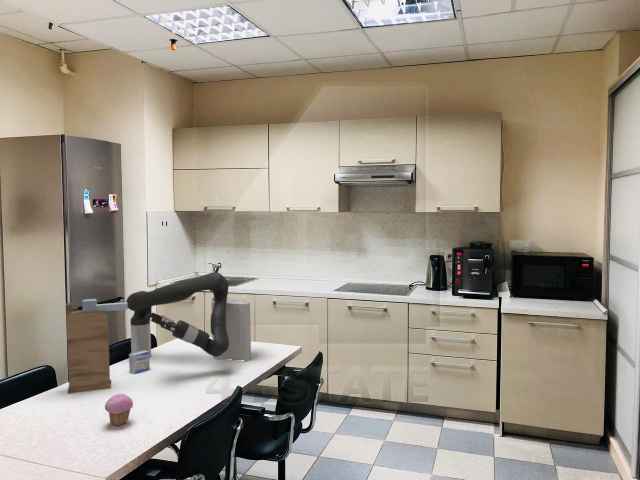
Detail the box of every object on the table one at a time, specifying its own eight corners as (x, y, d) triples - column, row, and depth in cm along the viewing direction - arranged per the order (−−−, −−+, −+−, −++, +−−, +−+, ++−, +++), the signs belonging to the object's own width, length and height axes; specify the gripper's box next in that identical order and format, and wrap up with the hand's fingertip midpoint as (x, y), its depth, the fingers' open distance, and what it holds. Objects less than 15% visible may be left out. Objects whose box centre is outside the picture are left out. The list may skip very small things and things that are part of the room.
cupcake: (125, 416, 178) (124, 388, 178) (138, 422, 173) (137, 394, 172) (100, 424, 171) (99, 395, 171) (113, 431, 166) (112, 401, 165)
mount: (69, 387, 208) (66, 302, 205) (111, 382, 213) (108, 299, 211) (67, 393, 201) (64, 305, 199) (110, 388, 207) (107, 302, 204)
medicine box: (134, 374, 224) (134, 355, 224) (129, 372, 227) (128, 353, 227) (150, 369, 231) (149, 351, 230) (144, 367, 233) (143, 349, 233)
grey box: (260, 353, 255) (259, 299, 254) (247, 361, 241) (246, 304, 240) (226, 350, 261) (225, 297, 260) (212, 358, 247) (210, 302, 245)
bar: (83, 311, 207) (83, 299, 207) (127, 307, 213) (127, 296, 212) (82, 313, 203) (82, 301, 202) (127, 309, 208) (127, 298, 208)
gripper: (188, 321, 226) (155, 305, 221) (191, 327, 213) (156, 311, 208) (180, 335, 225) (146, 320, 220) (183, 343, 212) (147, 327, 207)
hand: (151, 316), depth 214 cm, fingers open, 8 cm apart
